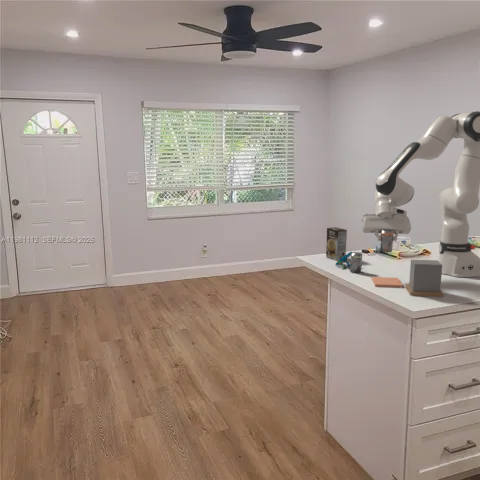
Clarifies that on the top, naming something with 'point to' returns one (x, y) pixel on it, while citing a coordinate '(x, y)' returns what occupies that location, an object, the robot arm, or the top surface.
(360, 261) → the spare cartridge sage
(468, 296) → the top surface
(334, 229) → the coffee box
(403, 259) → the top surface
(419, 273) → the block
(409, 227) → the robot arm
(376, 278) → the mat
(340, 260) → the blue toy figure
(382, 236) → the terracotta cartridge
